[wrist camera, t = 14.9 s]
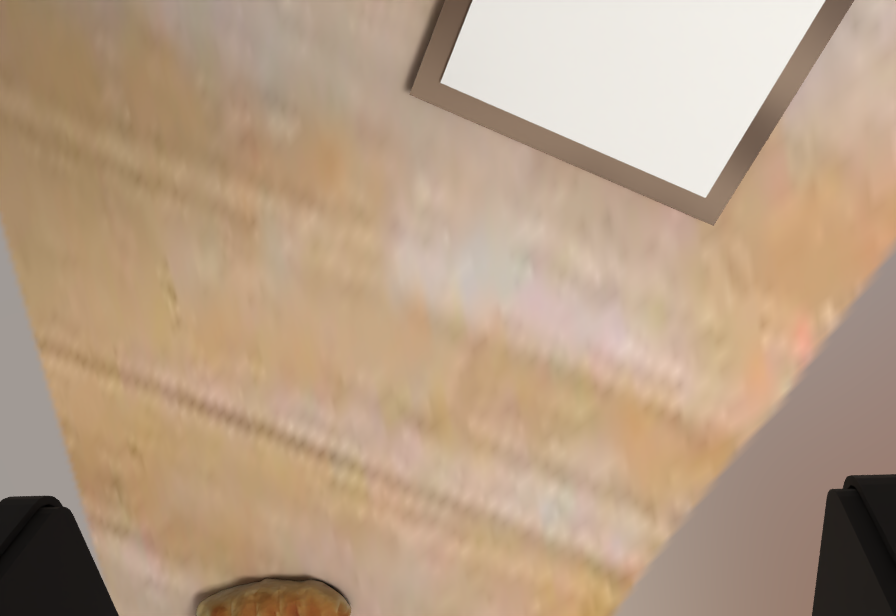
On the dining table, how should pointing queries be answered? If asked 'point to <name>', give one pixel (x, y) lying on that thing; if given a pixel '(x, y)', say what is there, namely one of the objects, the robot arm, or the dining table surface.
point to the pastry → (276, 600)
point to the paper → (633, 73)
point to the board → (602, 164)
